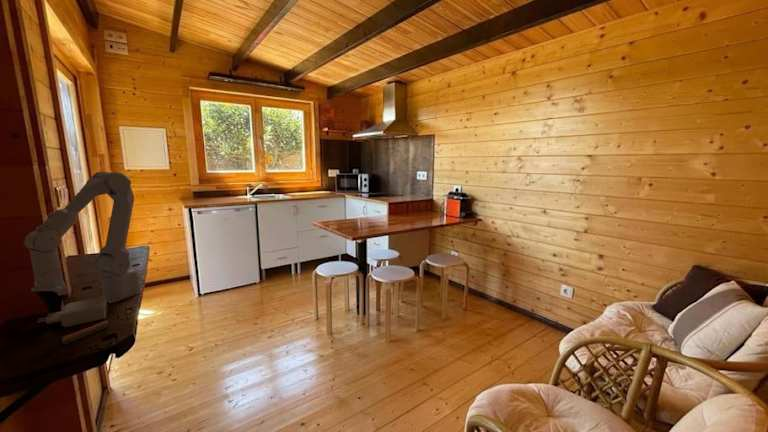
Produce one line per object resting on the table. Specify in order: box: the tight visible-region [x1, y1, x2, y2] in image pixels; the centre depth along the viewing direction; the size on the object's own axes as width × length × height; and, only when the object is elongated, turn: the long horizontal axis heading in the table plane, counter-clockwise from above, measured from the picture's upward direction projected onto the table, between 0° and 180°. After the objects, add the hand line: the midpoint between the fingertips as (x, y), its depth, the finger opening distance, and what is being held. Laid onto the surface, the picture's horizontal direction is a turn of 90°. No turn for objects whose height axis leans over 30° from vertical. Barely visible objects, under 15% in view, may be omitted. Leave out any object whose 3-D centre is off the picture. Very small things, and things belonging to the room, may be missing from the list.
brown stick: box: [61, 320, 110, 345], centre depth 90 cm, size 10×1×2 cm, turn 156°
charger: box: [36, 295, 108, 328], centre depth 97 cm, size 5×9×15 cm
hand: (55, 312), depth 98 cm, fingers closed
